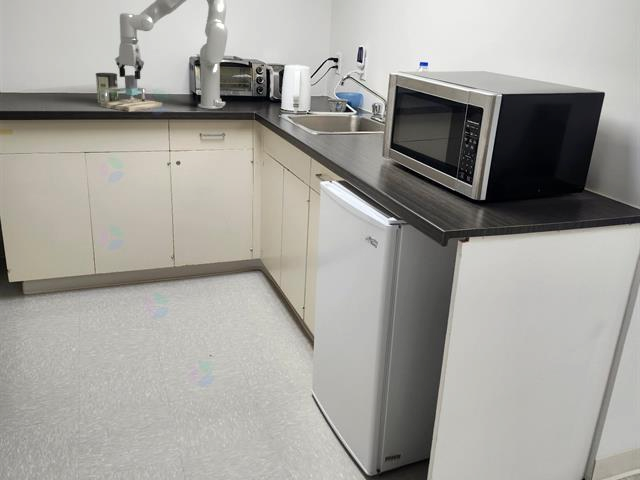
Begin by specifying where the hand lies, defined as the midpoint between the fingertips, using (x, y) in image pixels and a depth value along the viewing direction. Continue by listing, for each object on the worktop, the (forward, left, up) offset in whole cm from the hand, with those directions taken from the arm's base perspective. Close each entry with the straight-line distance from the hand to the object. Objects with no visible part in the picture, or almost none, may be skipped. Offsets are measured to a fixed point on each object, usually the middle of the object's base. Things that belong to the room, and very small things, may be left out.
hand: (130, 77), depth 285 cm
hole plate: (0, 0, -14) cm, 14 cm away
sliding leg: (0, 0, -11) cm, 11 cm away
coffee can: (+18, -2, -14) cm, 23 cm away
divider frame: (+3, +1, -12) cm, 12 cm away
